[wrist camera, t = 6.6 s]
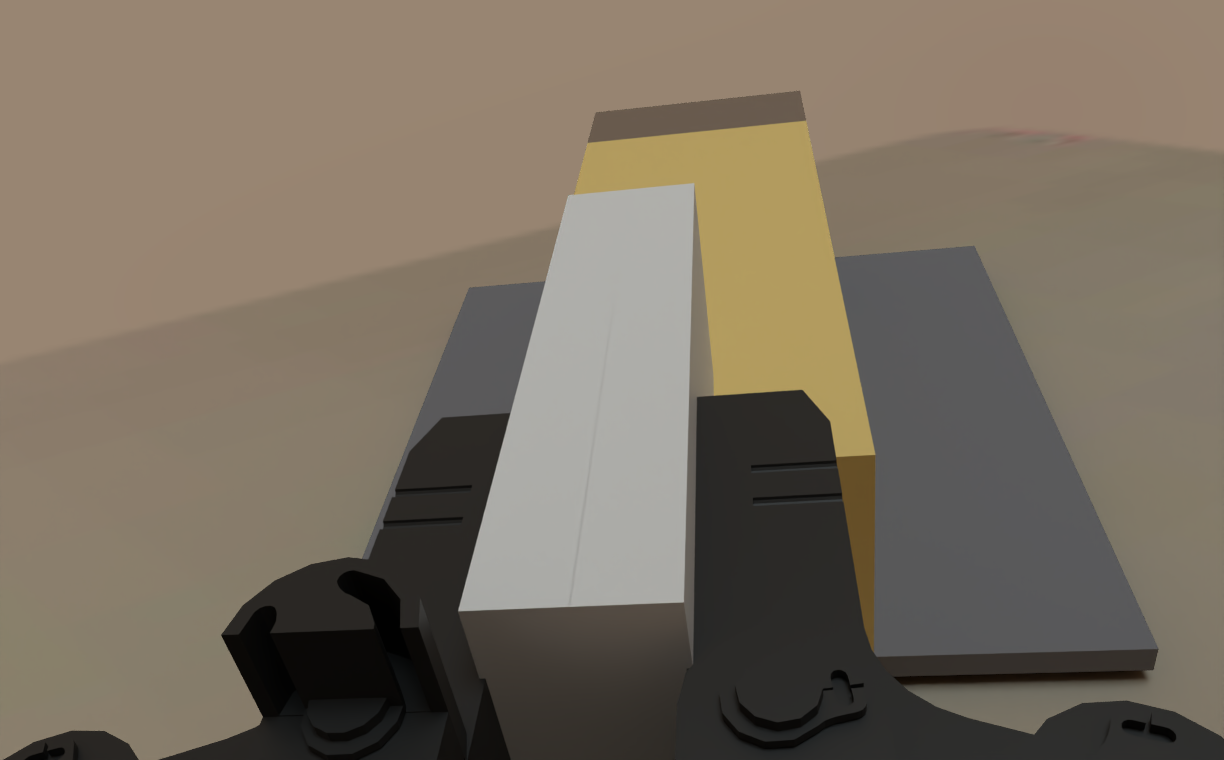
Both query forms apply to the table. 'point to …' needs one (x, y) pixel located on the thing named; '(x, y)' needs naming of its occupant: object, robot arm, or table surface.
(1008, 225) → the table surface
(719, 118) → the ochre post
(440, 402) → the charcoal mat
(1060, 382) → the table surface
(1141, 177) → the table surface
